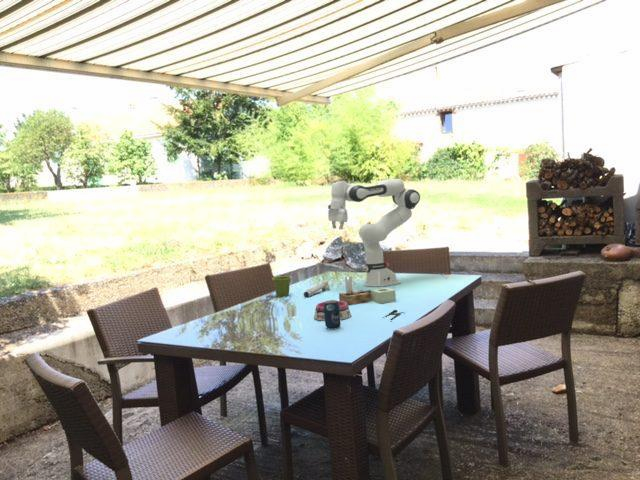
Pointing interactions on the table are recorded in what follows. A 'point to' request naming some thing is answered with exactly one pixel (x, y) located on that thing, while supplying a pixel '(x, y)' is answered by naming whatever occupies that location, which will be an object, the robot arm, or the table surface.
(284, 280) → the plant pot
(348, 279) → the peg
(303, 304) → the table surface
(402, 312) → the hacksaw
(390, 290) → the square hole block
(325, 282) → the white elongated piece
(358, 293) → the socket block
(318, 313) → the dog bowl
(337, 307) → the soda can
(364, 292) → the block
